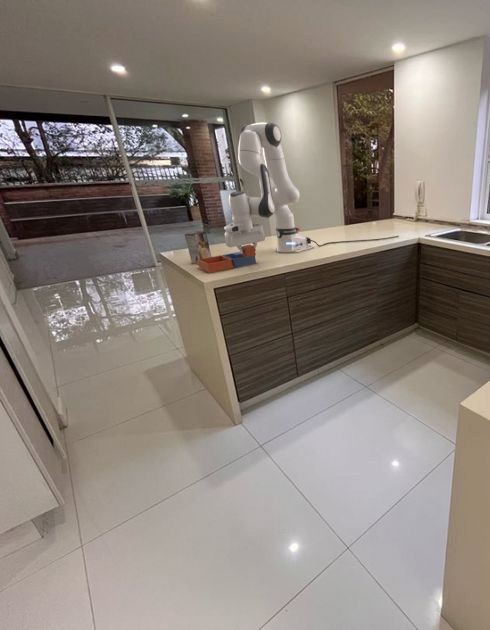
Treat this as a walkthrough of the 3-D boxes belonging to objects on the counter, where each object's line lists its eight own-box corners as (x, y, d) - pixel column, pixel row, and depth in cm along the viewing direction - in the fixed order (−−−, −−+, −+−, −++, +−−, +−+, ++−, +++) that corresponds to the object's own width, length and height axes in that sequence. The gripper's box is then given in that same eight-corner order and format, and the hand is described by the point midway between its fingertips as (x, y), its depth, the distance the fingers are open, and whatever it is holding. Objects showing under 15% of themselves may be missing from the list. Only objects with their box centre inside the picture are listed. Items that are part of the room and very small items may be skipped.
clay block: (251, 253, 181) (249, 244, 179) (255, 255, 178) (254, 246, 176) (242, 255, 178) (240, 246, 176) (246, 257, 175) (245, 247, 173)
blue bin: (245, 259, 195) (243, 251, 193) (256, 263, 187) (255, 255, 185) (224, 263, 187) (222, 255, 185) (234, 267, 179) (233, 259, 177)
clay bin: (222, 263, 186) (220, 255, 184) (233, 268, 178) (231, 259, 176) (199, 268, 178) (197, 259, 176) (209, 273, 170) (207, 264, 168)
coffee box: (202, 259, 195) (196, 230, 188) (212, 259, 193) (206, 231, 187) (191, 263, 186) (184, 234, 180) (201, 264, 185) (194, 234, 179)
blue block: (242, 260, 190) (240, 251, 188) (246, 262, 187) (244, 253, 185) (233, 262, 186) (231, 253, 184) (237, 263, 183) (235, 254, 181)
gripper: (259, 222, 180) (263, 247, 186) (220, 227, 166) (226, 255, 172) (265, 223, 176) (269, 249, 182) (226, 229, 163) (232, 257, 169)
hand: (248, 252), depth 177 cm, fingers closed on clay block, 5 cm apart
